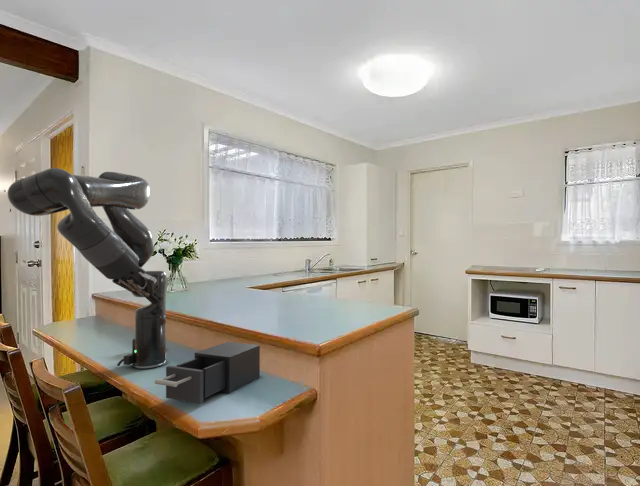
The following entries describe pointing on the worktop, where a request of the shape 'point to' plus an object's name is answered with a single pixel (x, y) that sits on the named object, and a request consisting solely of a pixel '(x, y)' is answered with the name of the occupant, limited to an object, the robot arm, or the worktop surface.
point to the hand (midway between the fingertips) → (158, 301)
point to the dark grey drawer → (195, 379)
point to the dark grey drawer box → (236, 362)
